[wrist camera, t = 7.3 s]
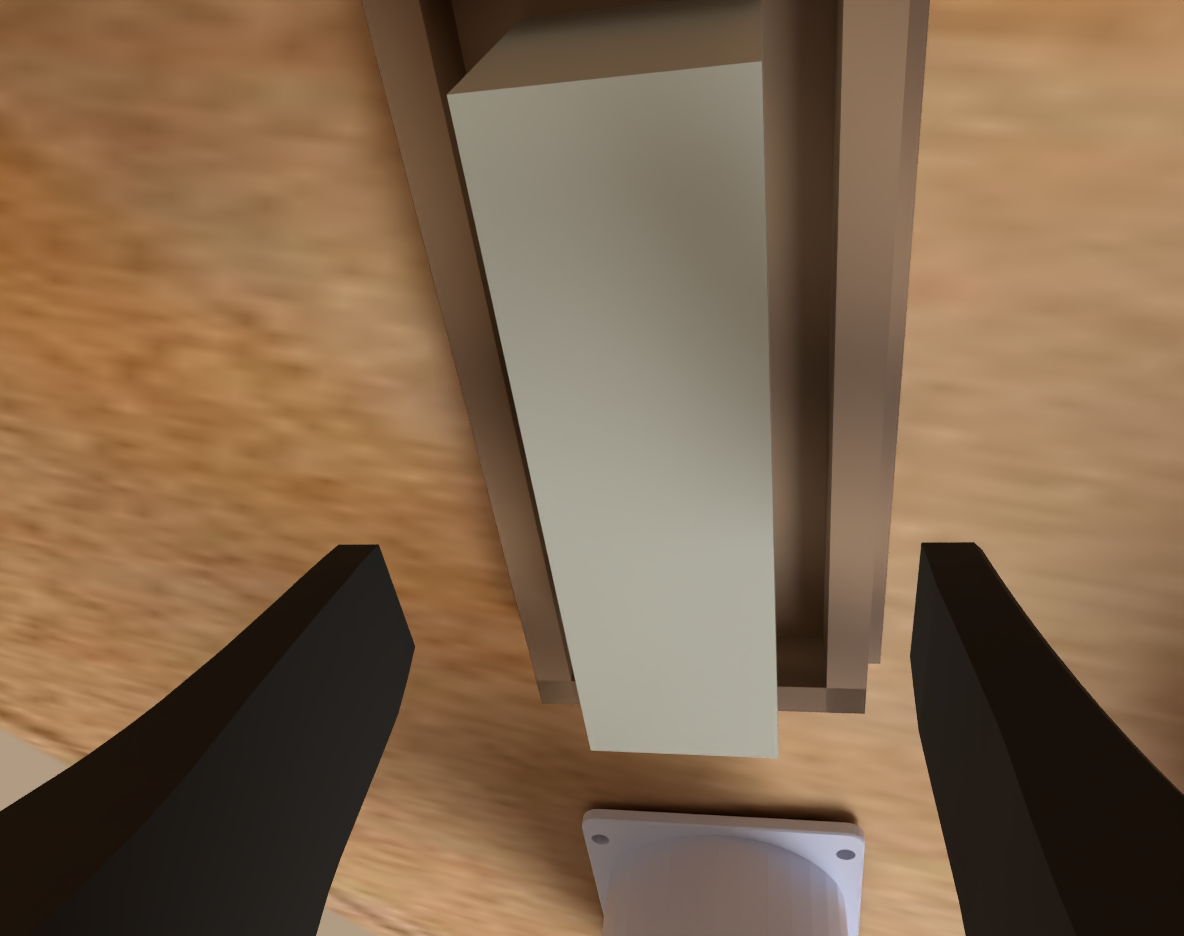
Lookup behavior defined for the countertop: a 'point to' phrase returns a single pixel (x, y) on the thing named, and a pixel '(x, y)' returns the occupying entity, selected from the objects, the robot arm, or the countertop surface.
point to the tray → (796, 308)
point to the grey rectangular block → (640, 352)
